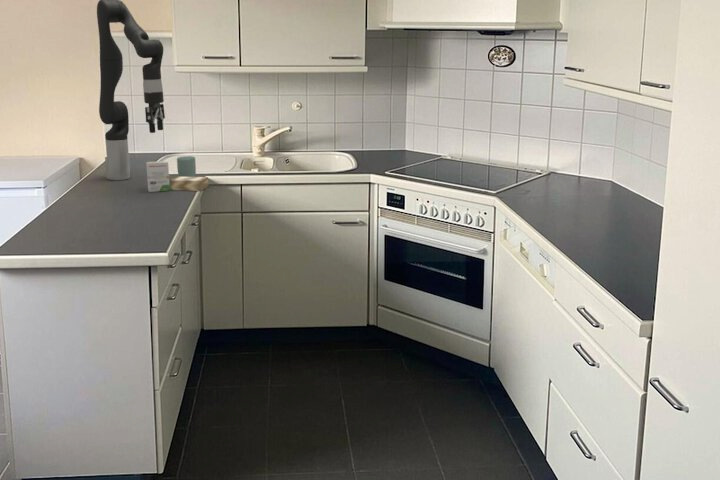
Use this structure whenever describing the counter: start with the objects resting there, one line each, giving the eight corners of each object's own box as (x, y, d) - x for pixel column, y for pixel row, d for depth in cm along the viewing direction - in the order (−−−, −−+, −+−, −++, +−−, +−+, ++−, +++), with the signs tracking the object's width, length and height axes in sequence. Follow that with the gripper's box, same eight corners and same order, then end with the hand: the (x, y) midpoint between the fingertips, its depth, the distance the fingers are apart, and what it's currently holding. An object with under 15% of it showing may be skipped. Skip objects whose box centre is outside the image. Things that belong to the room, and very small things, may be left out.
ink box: (169, 188, 352) (167, 160, 349) (170, 191, 348) (168, 162, 345) (147, 189, 350) (145, 161, 347) (148, 192, 345) (146, 163, 342)
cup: (194, 182, 365) (193, 159, 363) (176, 182, 365) (174, 159, 363) (198, 178, 373) (196, 156, 370) (180, 178, 373) (179, 156, 370)
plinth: (170, 189, 349) (170, 180, 348) (178, 185, 358) (178, 176, 357) (201, 190, 347) (200, 180, 346) (208, 186, 356) (208, 176, 355)
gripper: (151, 89, 350) (154, 129, 353) (137, 92, 336) (140, 133, 340) (168, 89, 348) (171, 129, 352) (155, 92, 335) (158, 133, 339)
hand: (156, 131), depth 346 cm, fingers open, 8 cm apart
